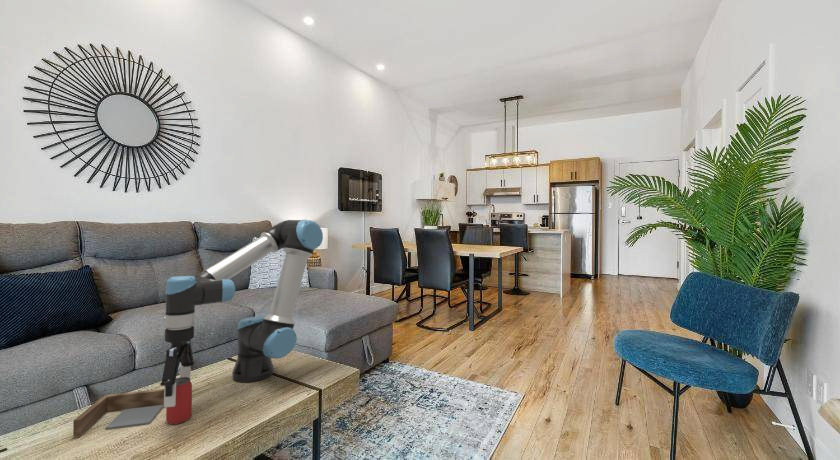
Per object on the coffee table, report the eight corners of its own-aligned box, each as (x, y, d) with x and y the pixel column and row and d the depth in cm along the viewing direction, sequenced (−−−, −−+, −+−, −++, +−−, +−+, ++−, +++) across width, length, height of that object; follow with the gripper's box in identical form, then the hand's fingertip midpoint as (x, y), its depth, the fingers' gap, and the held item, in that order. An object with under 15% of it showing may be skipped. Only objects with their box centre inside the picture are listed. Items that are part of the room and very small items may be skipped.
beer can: (179, 426, 106) (179, 386, 106) (160, 423, 107) (160, 384, 107) (197, 415, 113) (197, 377, 113) (179, 412, 114) (179, 375, 114)
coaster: (163, 406, 118) (163, 404, 118) (149, 424, 107) (149, 422, 107) (123, 411, 114) (123, 409, 114) (105, 429, 104) (105, 427, 104)
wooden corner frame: (178, 401, 121) (178, 387, 121) (160, 426, 106) (160, 409, 106) (104, 410, 115) (104, 395, 115) (73, 438, 100) (73, 420, 100)
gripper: (179, 318, 121) (177, 381, 120) (148, 339, 97) (145, 417, 97) (204, 317, 123) (202, 378, 123) (180, 337, 99) (177, 414, 99)
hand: (177, 396), depth 110 cm, fingers open, 13 cm apart
